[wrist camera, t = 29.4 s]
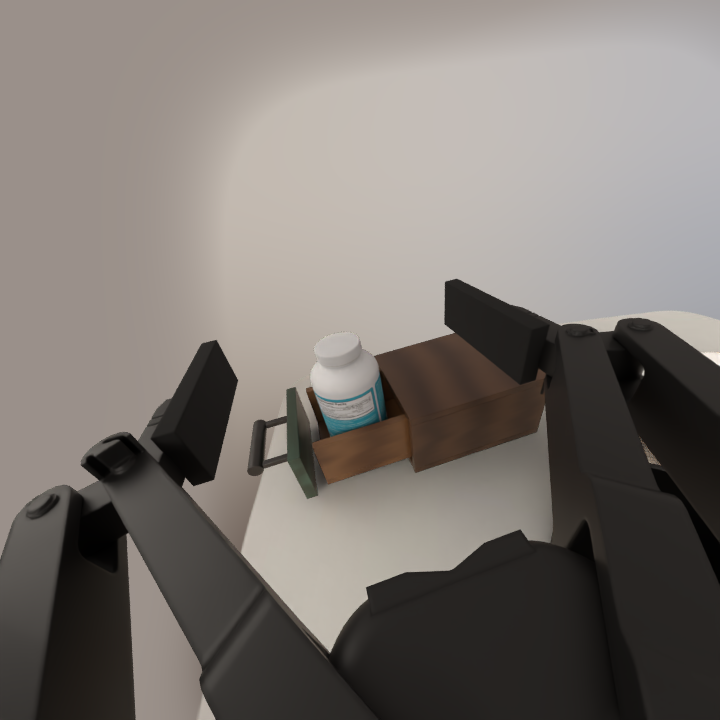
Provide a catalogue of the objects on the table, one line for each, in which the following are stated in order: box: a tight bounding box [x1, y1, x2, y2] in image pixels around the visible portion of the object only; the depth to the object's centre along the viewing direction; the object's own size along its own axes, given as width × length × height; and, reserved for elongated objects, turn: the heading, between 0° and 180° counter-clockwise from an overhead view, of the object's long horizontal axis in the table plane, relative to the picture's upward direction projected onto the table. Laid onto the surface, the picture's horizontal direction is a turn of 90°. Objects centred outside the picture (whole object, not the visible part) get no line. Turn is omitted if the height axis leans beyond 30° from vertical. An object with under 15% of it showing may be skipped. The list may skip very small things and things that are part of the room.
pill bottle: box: [310, 332, 388, 437], centre depth 30 cm, size 8×7×14 cm
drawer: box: [247, 369, 412, 499], centre depth 33 cm, size 20×11×7 cm, turn 104°
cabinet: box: [374, 333, 546, 472], centre depth 34 cm, size 16×13×9 cm
